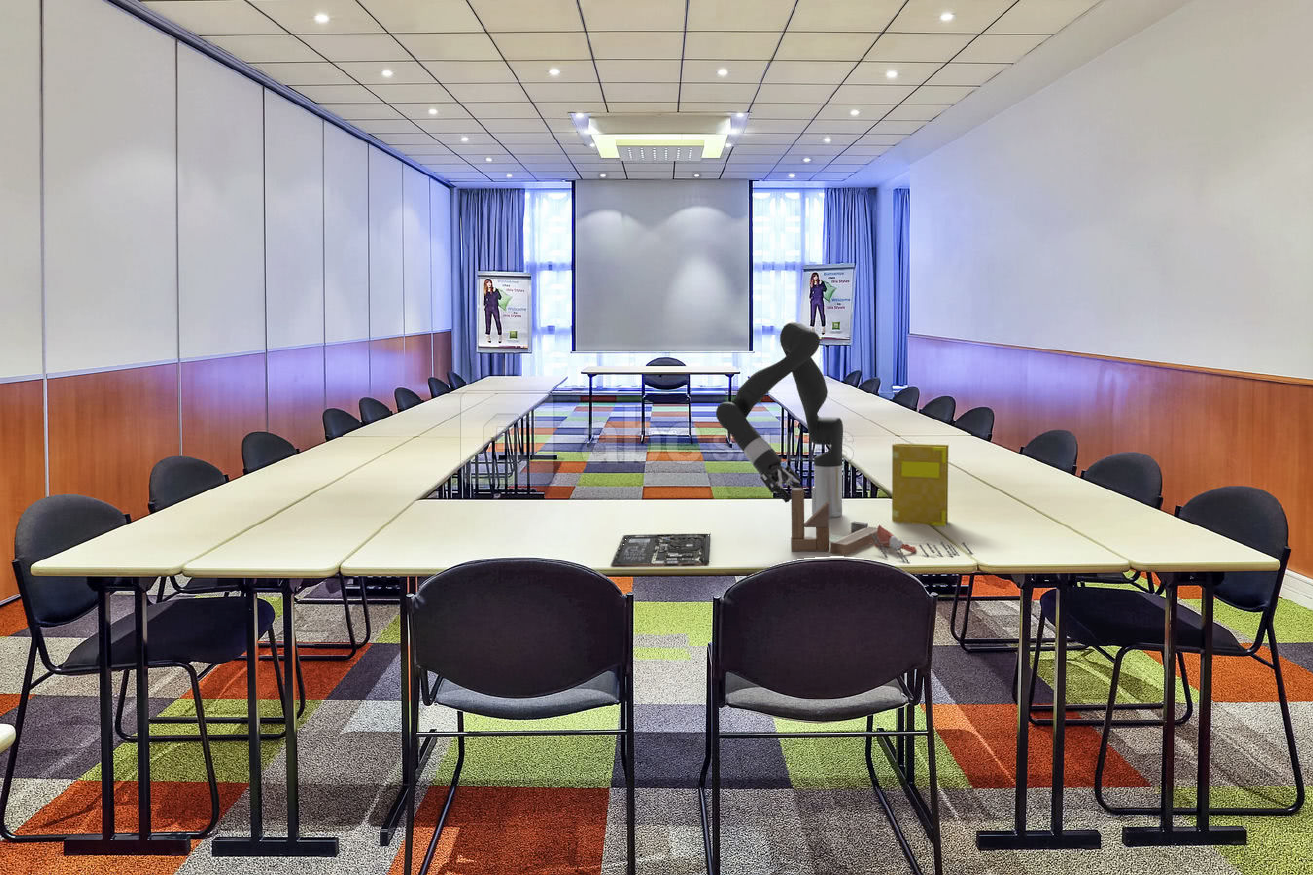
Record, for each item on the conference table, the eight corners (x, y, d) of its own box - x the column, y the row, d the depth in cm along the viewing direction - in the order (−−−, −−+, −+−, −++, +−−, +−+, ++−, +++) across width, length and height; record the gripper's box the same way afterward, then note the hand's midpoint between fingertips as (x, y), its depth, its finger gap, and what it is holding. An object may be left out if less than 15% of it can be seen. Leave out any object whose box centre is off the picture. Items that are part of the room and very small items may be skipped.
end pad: (810, 539, 282) (810, 538, 282) (823, 534, 288) (823, 533, 288) (846, 544, 275) (846, 543, 275) (858, 539, 281) (858, 538, 281)
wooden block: (829, 551, 267) (829, 489, 265) (791, 551, 269) (790, 490, 266) (828, 548, 271) (828, 487, 269) (791, 548, 272) (790, 487, 270)
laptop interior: (622, 539, 293) (622, 533, 293) (711, 537, 291) (711, 531, 290) (608, 570, 259) (607, 564, 258) (708, 568, 256) (708, 562, 256)
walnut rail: (816, 550, 269) (816, 537, 268) (854, 534, 287) (854, 521, 287) (846, 555, 263) (846, 541, 262) (883, 538, 281) (883, 525, 281)
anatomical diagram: (866, 524, 268) (947, 514, 272) (862, 548, 272) (942, 539, 277) (896, 568, 251) (981, 557, 255) (892, 593, 255) (976, 582, 260)
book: (947, 521, 301) (948, 444, 298) (944, 526, 295) (945, 447, 292) (894, 518, 308) (894, 443, 305) (890, 522, 302) (890, 446, 299)
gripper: (756, 451, 269) (792, 494, 263) (782, 445, 280) (816, 486, 274) (741, 468, 273) (776, 510, 267) (767, 461, 284) (801, 502, 278)
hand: (796, 498), depth 271 cm, fingers open, 8 cm apart
